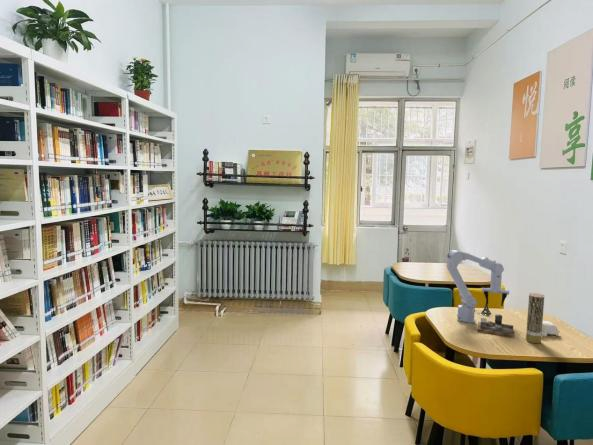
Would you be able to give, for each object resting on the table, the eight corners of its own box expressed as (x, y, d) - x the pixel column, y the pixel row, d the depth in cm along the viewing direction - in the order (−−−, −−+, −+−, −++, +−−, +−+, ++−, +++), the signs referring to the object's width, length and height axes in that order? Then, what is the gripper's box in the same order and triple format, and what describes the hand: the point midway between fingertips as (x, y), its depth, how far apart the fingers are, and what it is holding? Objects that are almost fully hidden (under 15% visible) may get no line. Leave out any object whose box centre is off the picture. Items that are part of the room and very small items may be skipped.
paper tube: (540, 340, 211) (543, 294, 209) (541, 344, 205) (545, 297, 203) (525, 338, 214) (528, 292, 212) (526, 342, 208) (529, 295, 205)
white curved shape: (546, 336, 226) (523, 326, 224) (552, 322, 225) (529, 313, 224) (557, 342, 217) (533, 332, 216) (563, 328, 217) (540, 318, 215)
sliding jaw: (494, 329, 221) (495, 316, 220) (494, 325, 228) (495, 313, 227) (501, 330, 219) (502, 317, 219) (501, 326, 226) (502, 313, 226)
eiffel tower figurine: (471, 310, 263) (472, 290, 262) (485, 310, 264) (487, 290, 263) (484, 318, 248) (485, 297, 247) (499, 318, 249) (500, 297, 248)
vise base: (477, 331, 222) (477, 322, 222) (478, 324, 235) (478, 315, 234) (513, 337, 214) (514, 328, 214) (512, 329, 227) (513, 320, 226)
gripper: (482, 282, 238) (481, 304, 239) (509, 285, 231) (508, 308, 232) (482, 280, 244) (481, 301, 245) (509, 282, 237) (508, 305, 239)
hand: (494, 304), depth 239 cm, fingers open, 7 cm apart
